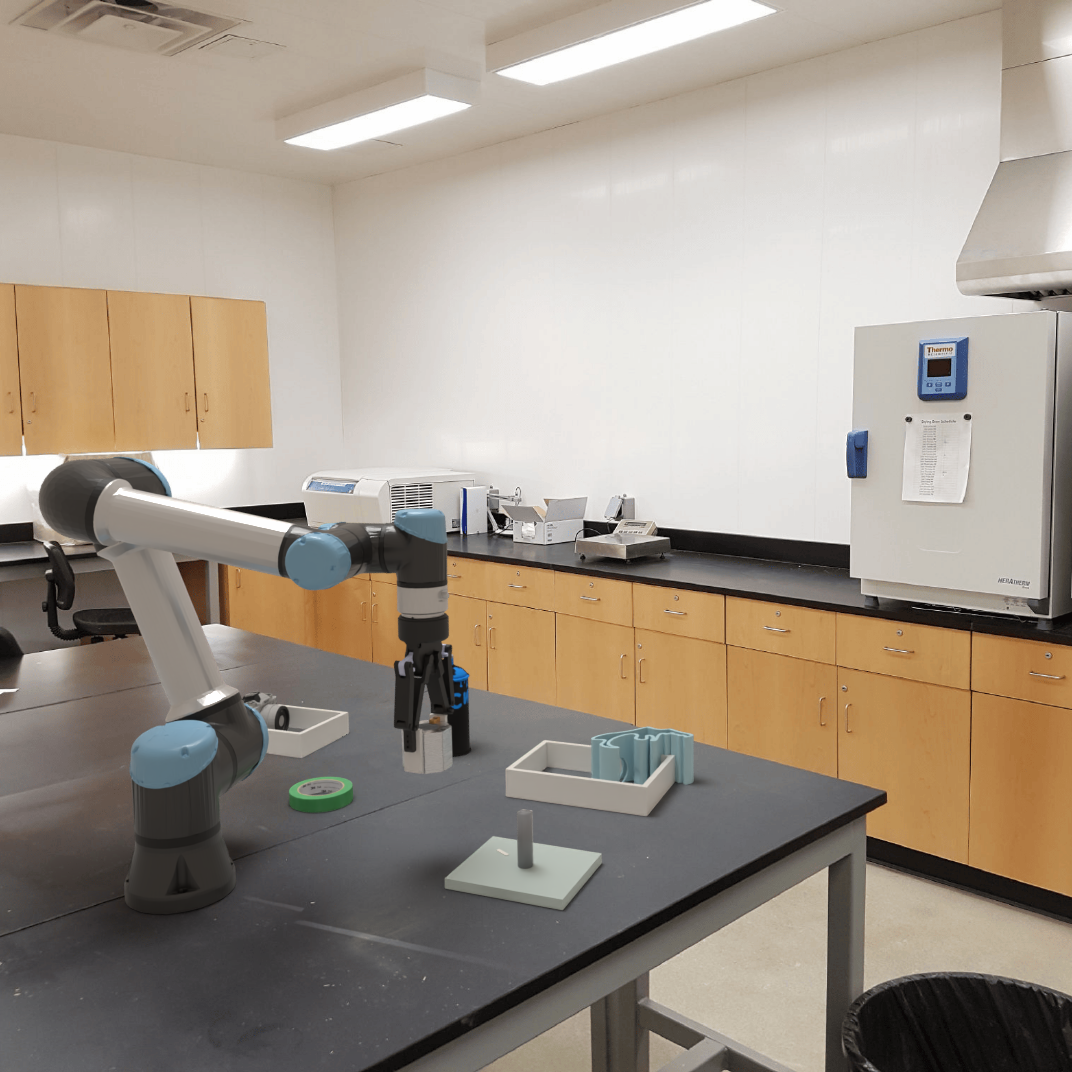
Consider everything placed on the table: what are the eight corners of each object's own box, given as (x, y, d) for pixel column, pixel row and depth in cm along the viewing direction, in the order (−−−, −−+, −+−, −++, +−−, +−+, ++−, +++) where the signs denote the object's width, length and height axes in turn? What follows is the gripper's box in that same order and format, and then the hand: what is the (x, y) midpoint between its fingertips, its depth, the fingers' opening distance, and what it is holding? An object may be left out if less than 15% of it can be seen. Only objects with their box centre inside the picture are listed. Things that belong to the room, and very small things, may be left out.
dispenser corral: (646, 816, 168) (646, 787, 168) (505, 796, 178) (505, 769, 178) (675, 781, 185) (675, 755, 184) (544, 765, 195) (544, 740, 194)
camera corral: (301, 758, 201) (300, 734, 200) (206, 745, 210) (205, 722, 210) (349, 734, 216) (348, 712, 216) (258, 723, 226) (257, 702, 225)
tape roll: (290, 816, 171) (289, 801, 171) (288, 794, 182) (287, 780, 182) (356, 809, 174) (355, 794, 174) (350, 787, 185) (349, 773, 185)
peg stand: (562, 910, 136) (561, 842, 135) (444, 888, 143) (443, 823, 142) (601, 863, 150) (601, 801, 149) (493, 845, 157) (492, 786, 156)
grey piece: (437, 775, 147) (435, 731, 146) (395, 770, 149) (393, 727, 149) (459, 760, 153) (458, 718, 152) (419, 756, 156) (417, 714, 155)
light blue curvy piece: (663, 769, 193) (663, 722, 192) (695, 785, 184) (696, 735, 183) (584, 787, 184) (583, 737, 183) (614, 804, 175) (614, 752, 174)
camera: (265, 751, 206) (263, 703, 205) (225, 748, 208) (223, 701, 207) (299, 729, 221) (297, 684, 220) (262, 727, 223) (260, 683, 222)
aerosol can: (422, 754, 202) (419, 657, 200) (444, 743, 210) (442, 649, 207) (457, 760, 198) (454, 661, 196) (478, 748, 206) (476, 652, 204)
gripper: (411, 627, 138) (415, 788, 141) (475, 603, 157) (478, 746, 159) (364, 623, 141) (369, 782, 144) (433, 601, 159) (436, 741, 162)
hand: (426, 763), depth 151 cm, fingers closed on grey piece, 7 cm apart
